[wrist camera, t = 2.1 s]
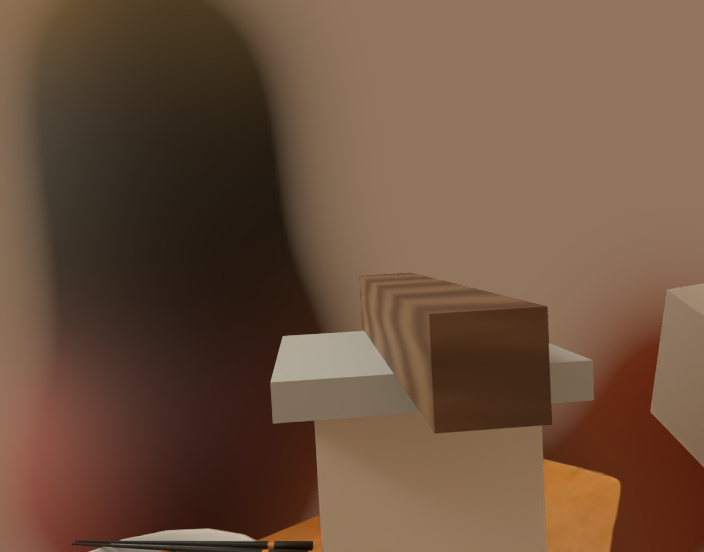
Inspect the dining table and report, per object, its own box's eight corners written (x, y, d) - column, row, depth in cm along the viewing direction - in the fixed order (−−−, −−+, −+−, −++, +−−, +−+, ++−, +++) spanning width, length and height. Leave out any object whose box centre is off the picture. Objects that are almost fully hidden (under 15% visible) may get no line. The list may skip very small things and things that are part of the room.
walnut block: (552, 424, 21) (547, 306, 21) (434, 433, 21) (428, 313, 21) (413, 324, 49) (410, 272, 49) (361, 327, 49) (359, 275, 49)
